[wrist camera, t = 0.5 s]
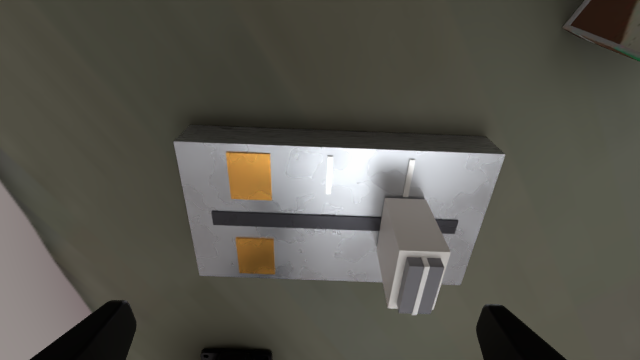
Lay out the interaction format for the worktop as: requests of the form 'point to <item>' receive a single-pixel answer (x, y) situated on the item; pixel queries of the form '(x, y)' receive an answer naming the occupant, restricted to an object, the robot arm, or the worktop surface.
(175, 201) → the worktop surface
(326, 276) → the console
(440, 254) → the fader tab
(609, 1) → the food container
